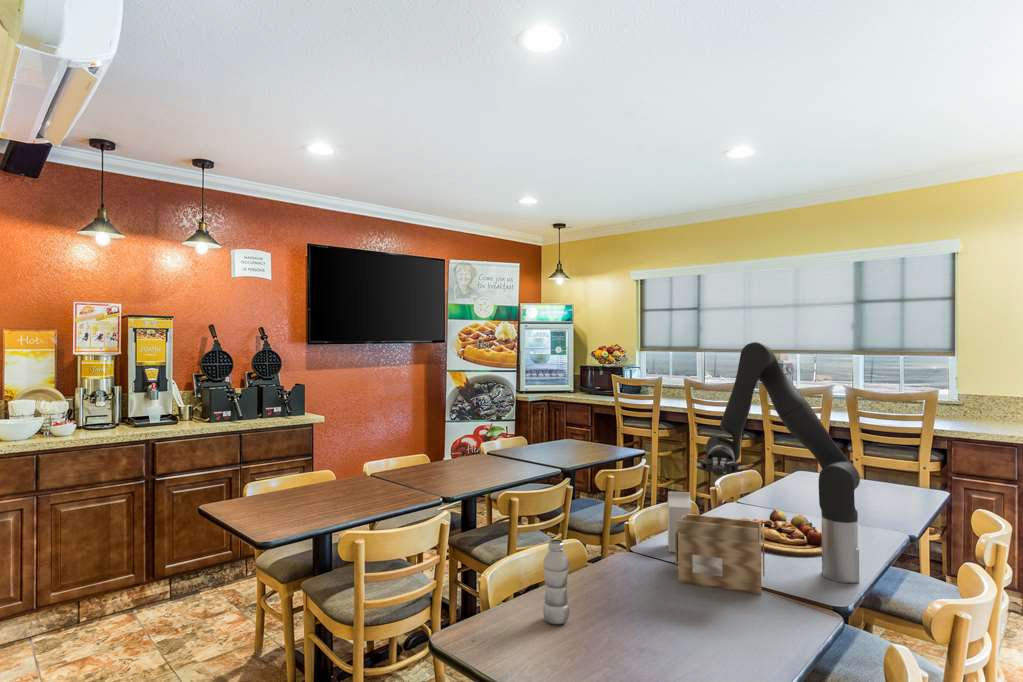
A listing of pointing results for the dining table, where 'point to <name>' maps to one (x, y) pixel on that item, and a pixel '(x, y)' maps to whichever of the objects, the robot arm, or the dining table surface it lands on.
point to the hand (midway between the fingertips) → (717, 472)
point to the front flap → (718, 531)
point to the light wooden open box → (720, 557)
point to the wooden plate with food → (790, 536)
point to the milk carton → (676, 513)
